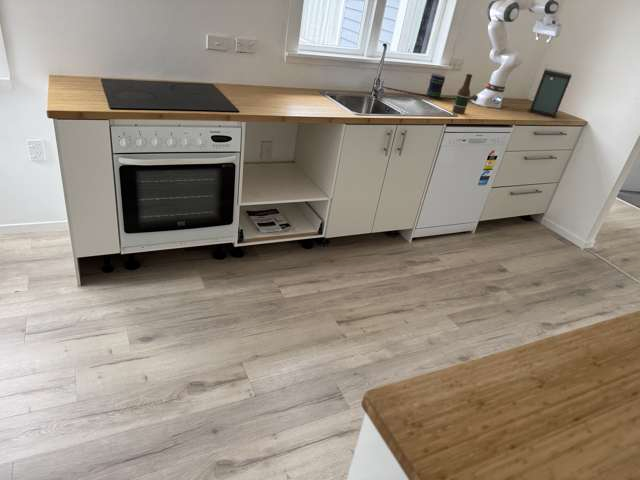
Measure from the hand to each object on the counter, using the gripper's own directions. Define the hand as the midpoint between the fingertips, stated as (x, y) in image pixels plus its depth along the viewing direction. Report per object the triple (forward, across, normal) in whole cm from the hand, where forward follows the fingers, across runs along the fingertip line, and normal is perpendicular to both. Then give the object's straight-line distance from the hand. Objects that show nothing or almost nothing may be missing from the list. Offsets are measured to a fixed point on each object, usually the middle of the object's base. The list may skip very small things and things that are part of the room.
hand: (542, 41), depth 345 cm
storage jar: (+48, -19, -72) cm, 89 cm away
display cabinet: (+46, +17, +6) cm, 50 cm away
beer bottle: (+48, +18, -84) cm, 98 cm away
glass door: (+45, +24, -4) cm, 51 cm away
